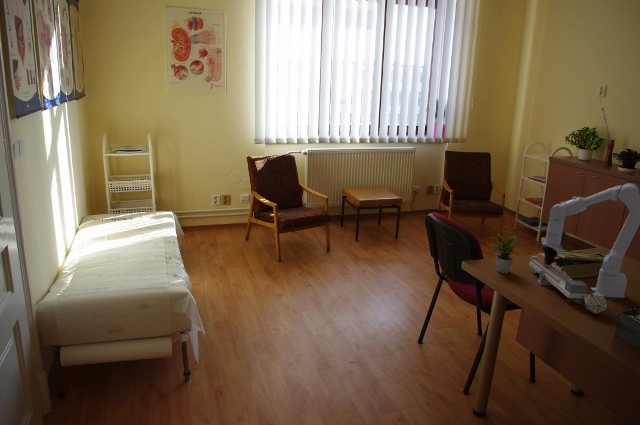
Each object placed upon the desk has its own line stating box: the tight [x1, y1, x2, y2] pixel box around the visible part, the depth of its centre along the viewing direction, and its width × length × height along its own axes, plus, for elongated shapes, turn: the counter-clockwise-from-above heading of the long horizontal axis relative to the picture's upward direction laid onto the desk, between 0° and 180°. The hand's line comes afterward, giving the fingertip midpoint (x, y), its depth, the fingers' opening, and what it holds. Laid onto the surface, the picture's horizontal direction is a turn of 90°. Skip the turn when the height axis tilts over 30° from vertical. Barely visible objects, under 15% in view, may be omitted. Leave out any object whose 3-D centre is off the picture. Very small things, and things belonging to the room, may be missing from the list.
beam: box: [528, 255, 589, 299], centre depth 199 cm, size 33×8×5 cm, turn 2°
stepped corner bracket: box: [533, 268, 583, 306], centre depth 199 cm, size 31×11×5 cm, turn 2°
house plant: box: [488, 234, 521, 274], centre depth 213 cm, size 14×14×16 cm
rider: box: [536, 252, 551, 268], centre depth 209 cm, size 6×3×5 cm, turn 3°
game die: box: [582, 290, 611, 317], centre depth 178 cm, size 9×8×10 cm
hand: (548, 264), depth 205 cm, fingers closed
